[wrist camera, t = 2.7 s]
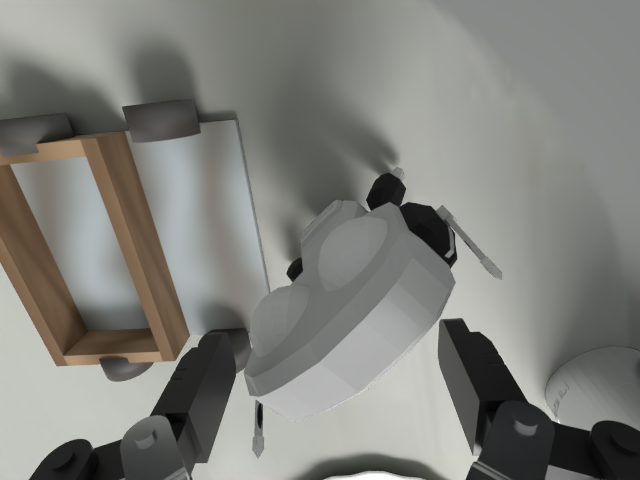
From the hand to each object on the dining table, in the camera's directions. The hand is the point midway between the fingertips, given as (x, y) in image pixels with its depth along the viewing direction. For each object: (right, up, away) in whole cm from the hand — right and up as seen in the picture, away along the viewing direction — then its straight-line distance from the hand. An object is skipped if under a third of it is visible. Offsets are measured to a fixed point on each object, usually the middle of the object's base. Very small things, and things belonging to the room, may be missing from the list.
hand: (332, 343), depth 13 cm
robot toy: (+1, +6, +12) cm, 14 cm away
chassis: (-14, +4, +14) cm, 20 cm away
